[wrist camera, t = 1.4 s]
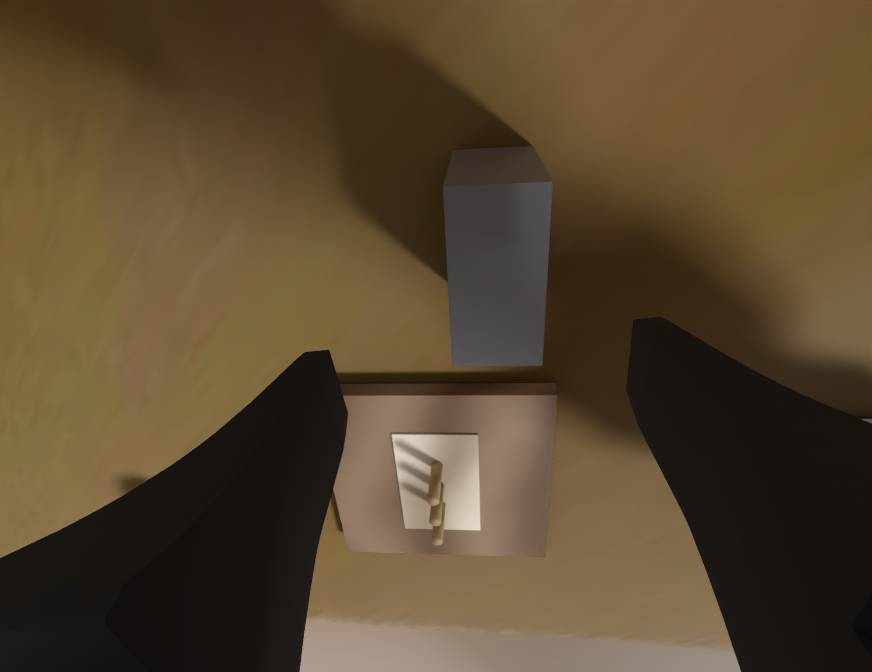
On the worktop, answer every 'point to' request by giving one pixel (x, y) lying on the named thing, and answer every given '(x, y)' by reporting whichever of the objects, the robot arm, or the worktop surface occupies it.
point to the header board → (447, 468)
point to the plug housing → (497, 255)
